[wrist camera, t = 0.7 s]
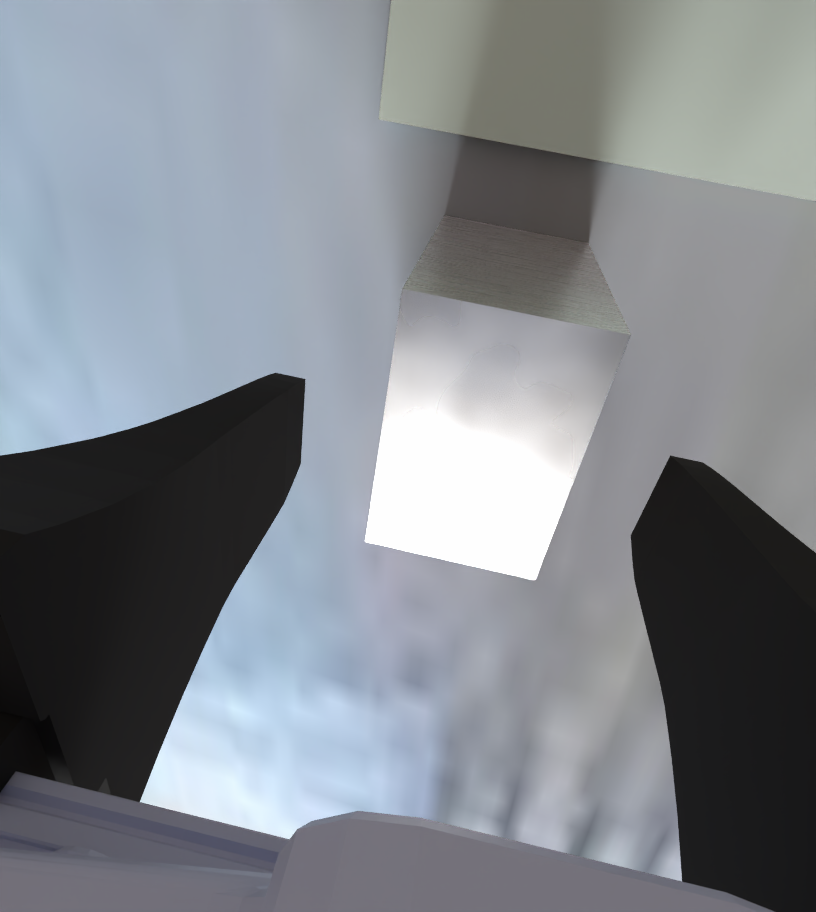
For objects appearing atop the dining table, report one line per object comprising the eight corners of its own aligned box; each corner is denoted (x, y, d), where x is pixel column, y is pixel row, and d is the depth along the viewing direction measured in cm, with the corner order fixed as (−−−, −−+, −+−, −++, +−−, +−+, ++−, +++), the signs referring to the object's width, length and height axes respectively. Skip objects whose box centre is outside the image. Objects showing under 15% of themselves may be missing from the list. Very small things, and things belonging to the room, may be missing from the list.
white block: (588, 242, 16) (631, 334, 10) (529, 428, 19) (535, 579, 13) (444, 214, 16) (402, 288, 10) (411, 403, 19) (365, 541, 13)
